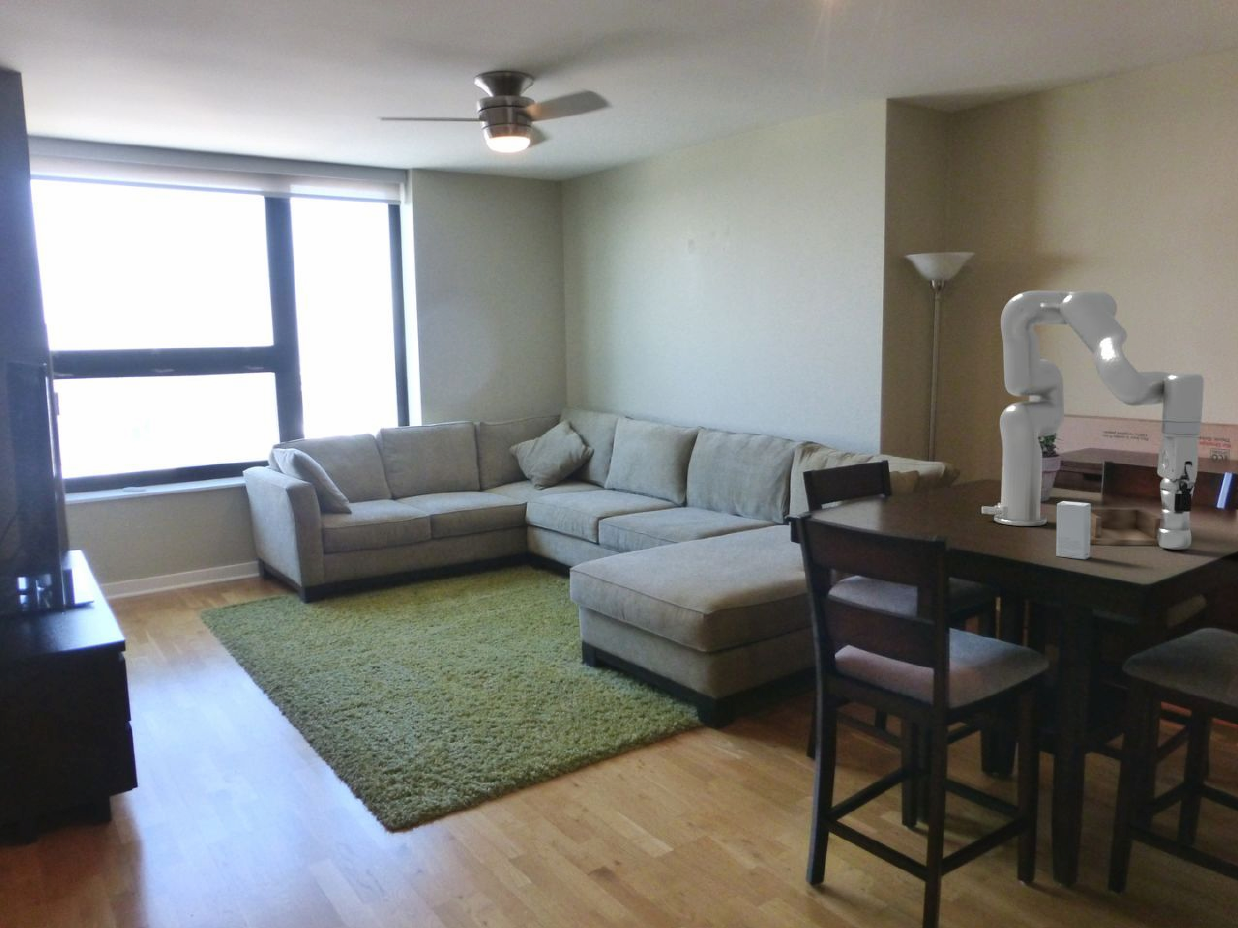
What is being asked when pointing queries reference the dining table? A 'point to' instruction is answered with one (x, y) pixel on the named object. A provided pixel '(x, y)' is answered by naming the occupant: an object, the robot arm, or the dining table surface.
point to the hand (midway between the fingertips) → (1175, 507)
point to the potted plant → (1048, 464)
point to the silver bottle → (1173, 520)
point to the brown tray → (1123, 527)
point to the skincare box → (1073, 529)
